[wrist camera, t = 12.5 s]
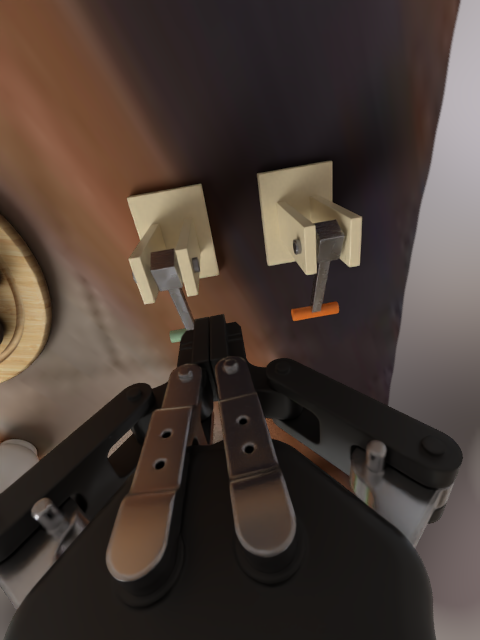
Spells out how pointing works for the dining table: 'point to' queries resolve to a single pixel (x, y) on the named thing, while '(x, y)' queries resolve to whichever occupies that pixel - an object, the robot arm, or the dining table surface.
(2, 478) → the flower vase
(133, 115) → the dining table surface
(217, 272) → the bracket
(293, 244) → the bracket
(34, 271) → the fruit bowl
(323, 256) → the lever
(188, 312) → the lever
